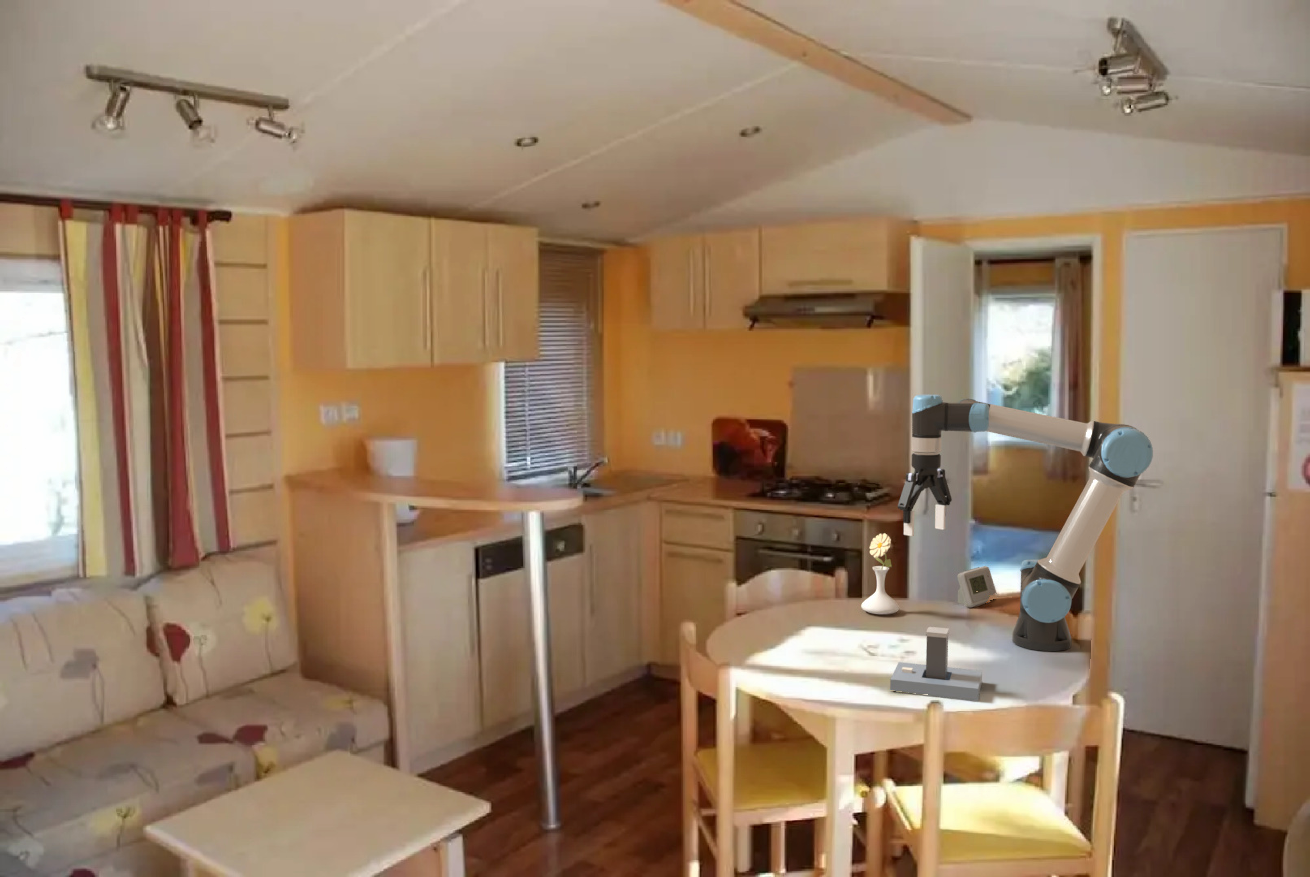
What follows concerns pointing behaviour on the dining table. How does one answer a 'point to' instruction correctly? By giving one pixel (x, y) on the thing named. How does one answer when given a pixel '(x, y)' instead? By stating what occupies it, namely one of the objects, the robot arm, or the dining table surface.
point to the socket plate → (937, 682)
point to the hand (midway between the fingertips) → (924, 532)
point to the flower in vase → (880, 579)
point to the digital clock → (975, 586)
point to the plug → (937, 653)
